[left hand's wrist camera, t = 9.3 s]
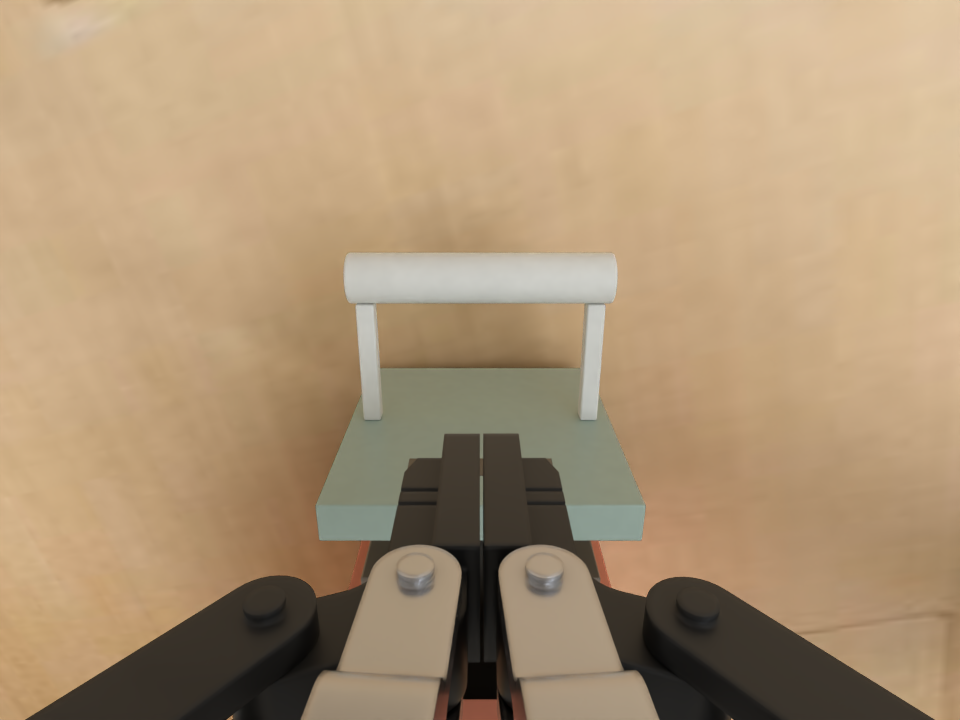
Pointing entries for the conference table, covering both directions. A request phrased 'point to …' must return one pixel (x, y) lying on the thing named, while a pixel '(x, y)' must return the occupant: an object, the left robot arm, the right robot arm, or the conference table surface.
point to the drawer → (480, 405)
